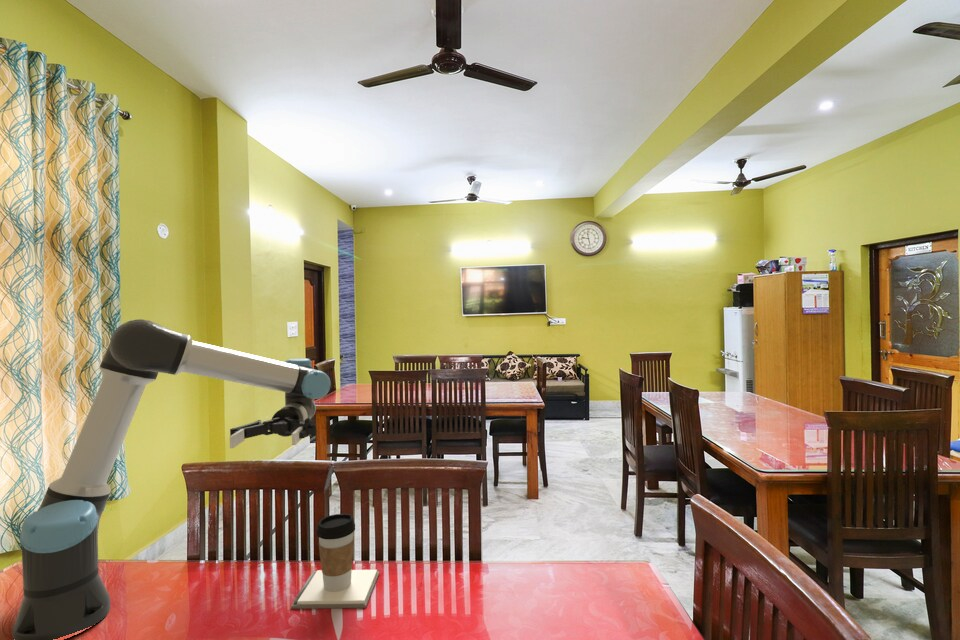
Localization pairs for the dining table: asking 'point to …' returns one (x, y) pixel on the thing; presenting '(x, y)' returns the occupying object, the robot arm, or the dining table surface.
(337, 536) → the coffee cup
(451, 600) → the dining table surface
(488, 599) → the dining table surface
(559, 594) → the dining table surface
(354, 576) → the notepad
